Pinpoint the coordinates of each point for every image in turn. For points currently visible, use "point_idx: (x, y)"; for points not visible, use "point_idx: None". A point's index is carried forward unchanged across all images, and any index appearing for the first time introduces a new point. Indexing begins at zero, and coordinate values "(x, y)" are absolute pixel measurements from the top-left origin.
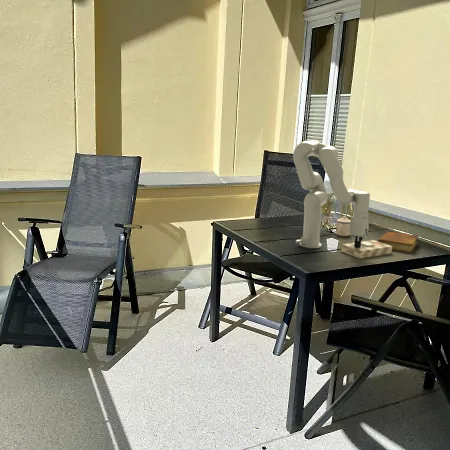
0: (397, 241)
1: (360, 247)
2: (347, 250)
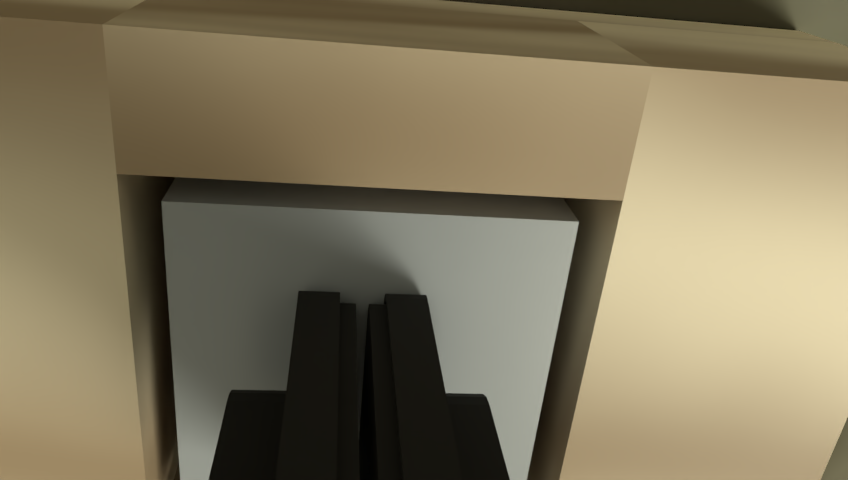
0: None
1: None
2: (554, 26)
